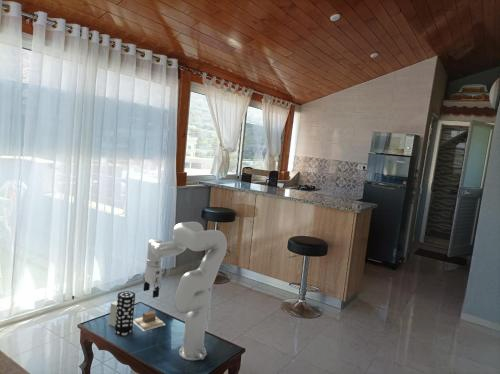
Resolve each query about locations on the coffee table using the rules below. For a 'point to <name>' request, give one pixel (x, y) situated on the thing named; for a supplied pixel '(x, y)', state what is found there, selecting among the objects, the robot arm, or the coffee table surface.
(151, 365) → the coffee table surface
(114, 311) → the skincare box
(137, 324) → the mat
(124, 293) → the spotted tube
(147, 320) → the lid
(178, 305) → the robot arm
